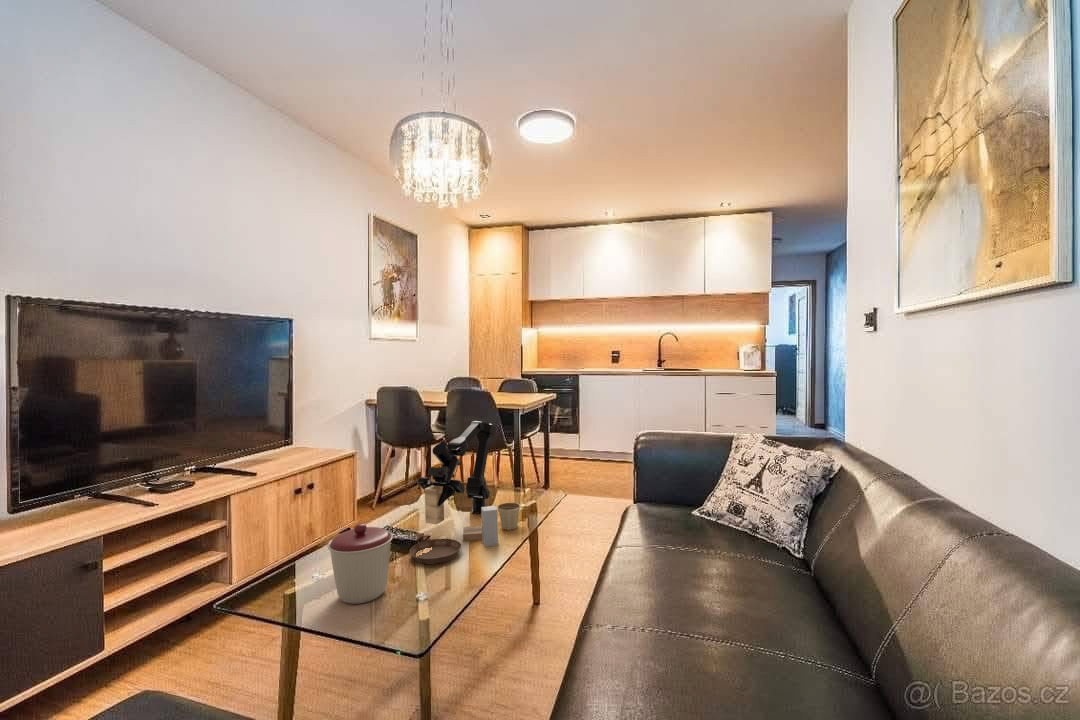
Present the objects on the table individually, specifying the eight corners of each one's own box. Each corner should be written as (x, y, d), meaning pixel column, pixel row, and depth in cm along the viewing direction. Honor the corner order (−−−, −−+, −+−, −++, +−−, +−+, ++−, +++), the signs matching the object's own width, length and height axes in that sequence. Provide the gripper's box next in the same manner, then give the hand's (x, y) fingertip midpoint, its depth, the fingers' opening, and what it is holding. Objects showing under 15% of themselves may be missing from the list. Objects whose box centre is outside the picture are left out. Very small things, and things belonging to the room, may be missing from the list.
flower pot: (510, 533, 190) (510, 511, 190) (492, 528, 196) (492, 507, 196) (526, 526, 198) (525, 504, 198) (508, 521, 204) (507, 501, 203)
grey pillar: (482, 541, 183) (481, 507, 183) (495, 540, 184) (494, 505, 184) (484, 546, 178) (483, 511, 178) (498, 544, 179) (497, 509, 179)
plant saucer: (400, 557, 172) (400, 548, 172) (443, 542, 184) (442, 534, 184) (428, 572, 159) (427, 562, 159) (471, 555, 172) (471, 546, 172)
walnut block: (463, 534, 192) (463, 527, 192) (484, 533, 193) (484, 525, 193) (463, 542, 184) (462, 534, 184) (484, 540, 185) (484, 532, 185)
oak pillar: (433, 518, 191) (432, 485, 191) (444, 519, 189) (443, 486, 189) (425, 522, 187) (424, 488, 186) (436, 524, 185) (435, 490, 184)
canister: (373, 575, 157) (370, 510, 157) (407, 591, 146) (404, 521, 146) (317, 598, 143) (314, 526, 143) (350, 618, 132) (347, 540, 132)
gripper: (419, 456, 195) (402, 492, 185) (459, 459, 188) (444, 496, 178) (431, 471, 202) (415, 506, 192) (470, 474, 195) (456, 511, 185)
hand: (432, 505), depth 187 cm, fingers closed on oak pillar, 5 cm apart
